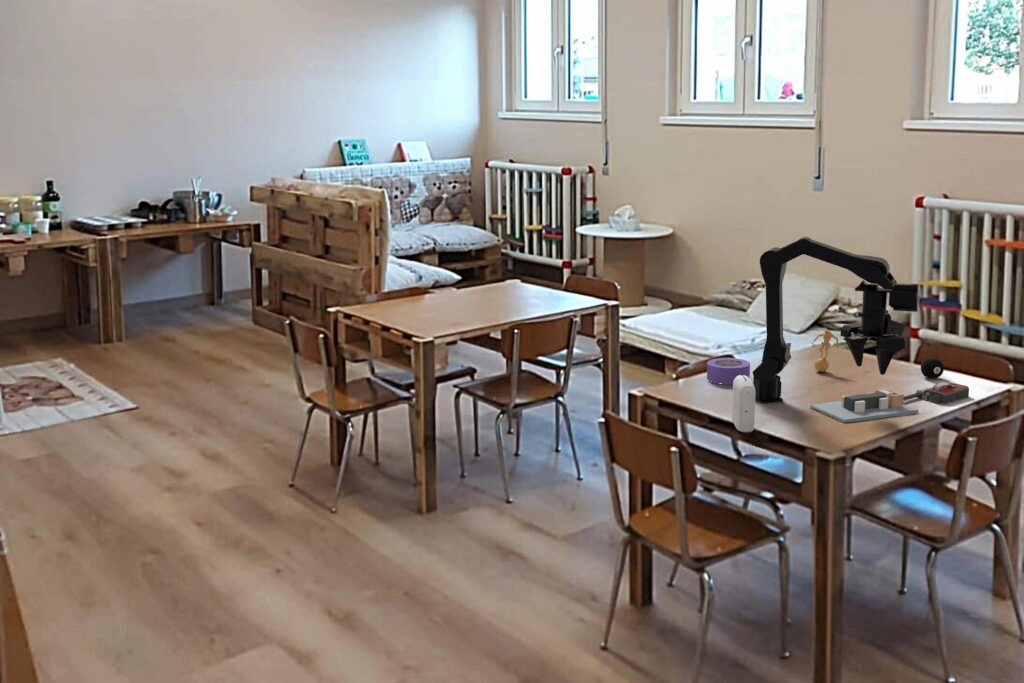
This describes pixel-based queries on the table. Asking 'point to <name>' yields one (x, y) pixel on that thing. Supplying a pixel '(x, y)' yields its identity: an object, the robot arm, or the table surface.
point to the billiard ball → (932, 367)
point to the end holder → (894, 398)
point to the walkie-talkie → (942, 393)
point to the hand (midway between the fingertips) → (870, 370)
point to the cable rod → (867, 399)
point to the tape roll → (727, 369)
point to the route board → (862, 410)
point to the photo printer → (743, 404)
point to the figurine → (822, 363)
